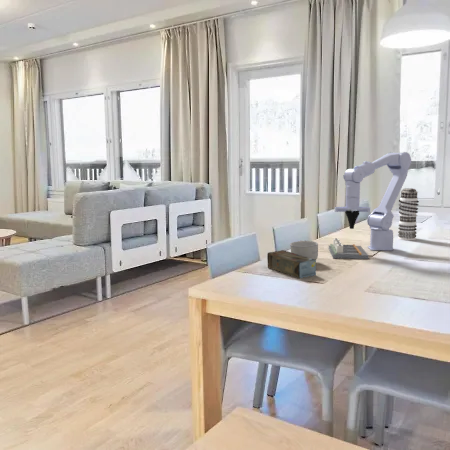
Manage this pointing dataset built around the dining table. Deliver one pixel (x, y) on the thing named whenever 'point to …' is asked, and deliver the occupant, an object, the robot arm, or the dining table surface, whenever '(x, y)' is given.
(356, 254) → the panel
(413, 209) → the decorative candle
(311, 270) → the beverage carton
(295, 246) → the teacup
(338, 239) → the breaker
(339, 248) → the breaker
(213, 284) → the dining table surface
